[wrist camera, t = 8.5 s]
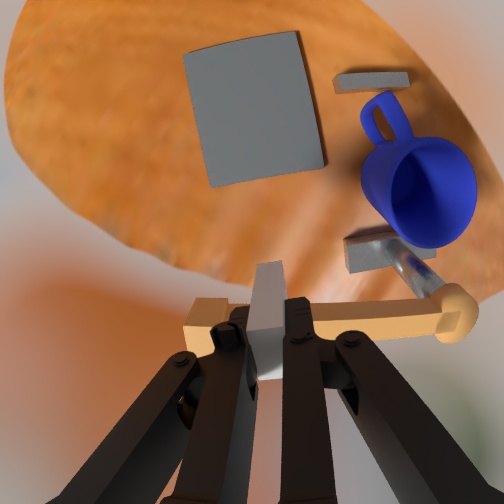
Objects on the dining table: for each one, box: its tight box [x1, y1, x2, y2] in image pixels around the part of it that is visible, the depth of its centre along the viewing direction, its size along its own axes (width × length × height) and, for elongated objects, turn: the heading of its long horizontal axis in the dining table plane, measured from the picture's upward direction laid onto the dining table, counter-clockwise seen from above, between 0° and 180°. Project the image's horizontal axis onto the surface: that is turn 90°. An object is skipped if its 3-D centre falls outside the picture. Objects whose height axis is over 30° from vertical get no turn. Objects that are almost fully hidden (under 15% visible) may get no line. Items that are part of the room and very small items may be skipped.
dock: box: [332, 72, 446, 298], centre depth 21 cm, size 19×10×12 cm, turn 11°
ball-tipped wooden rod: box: [183, 283, 479, 358], centre depth 17 cm, size 19×4×3 cm, turn 92°
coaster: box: [183, 31, 324, 188], centre depth 26 cm, size 14×11×1 cm
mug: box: [360, 91, 477, 249], centre depth 22 cm, size 8×12×10 cm
